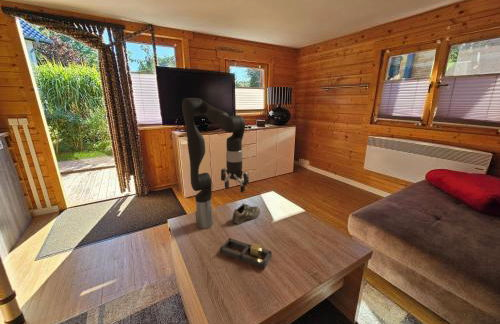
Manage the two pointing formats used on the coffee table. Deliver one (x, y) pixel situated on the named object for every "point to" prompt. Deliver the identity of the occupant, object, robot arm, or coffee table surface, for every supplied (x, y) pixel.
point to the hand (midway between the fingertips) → (234, 190)
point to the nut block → (256, 250)
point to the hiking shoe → (245, 213)
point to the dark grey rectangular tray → (245, 253)
